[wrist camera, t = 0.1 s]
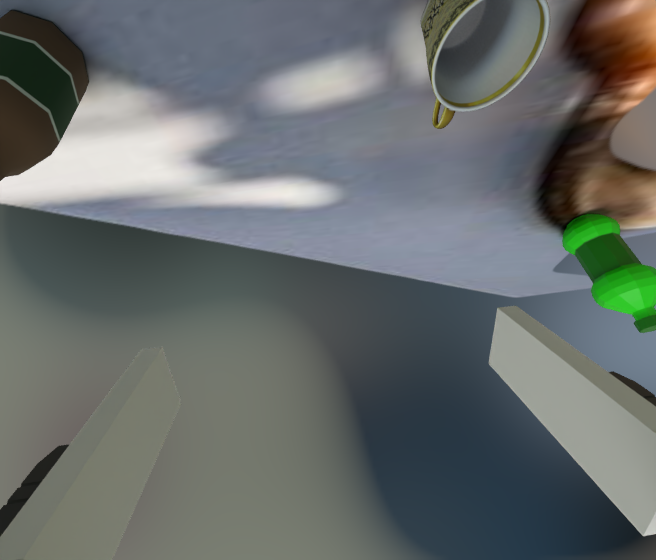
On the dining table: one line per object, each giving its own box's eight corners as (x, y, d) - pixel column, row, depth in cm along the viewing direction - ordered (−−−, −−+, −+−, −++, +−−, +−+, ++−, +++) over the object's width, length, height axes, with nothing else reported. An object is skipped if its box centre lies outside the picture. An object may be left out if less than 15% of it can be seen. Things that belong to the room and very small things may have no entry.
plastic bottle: (553, 242, 75) (615, 342, 62) (554, 219, 67) (626, 328, 54) (603, 224, 71) (681, 327, 58) (611, 197, 63) (703, 309, 50)
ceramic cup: (435, -71, 28) (476, -33, 23) (525, -38, 31) (579, 3, 26) (380, 81, 39) (399, 130, 33) (450, 96, 41) (478, 144, 36)
